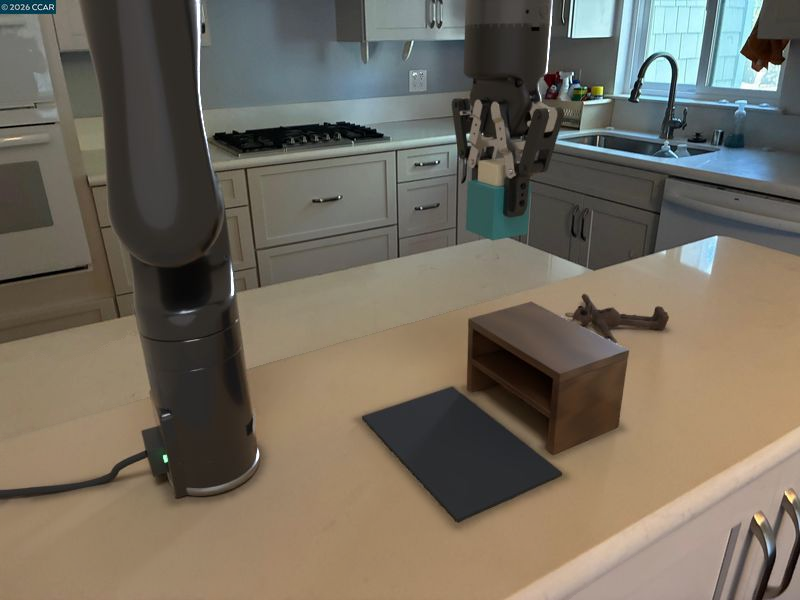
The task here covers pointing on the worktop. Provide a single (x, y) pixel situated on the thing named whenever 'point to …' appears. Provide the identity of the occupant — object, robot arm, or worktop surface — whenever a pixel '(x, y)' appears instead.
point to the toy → (492, 204)
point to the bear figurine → (615, 318)
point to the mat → (460, 452)
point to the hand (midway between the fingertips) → (497, 209)
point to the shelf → (550, 369)
